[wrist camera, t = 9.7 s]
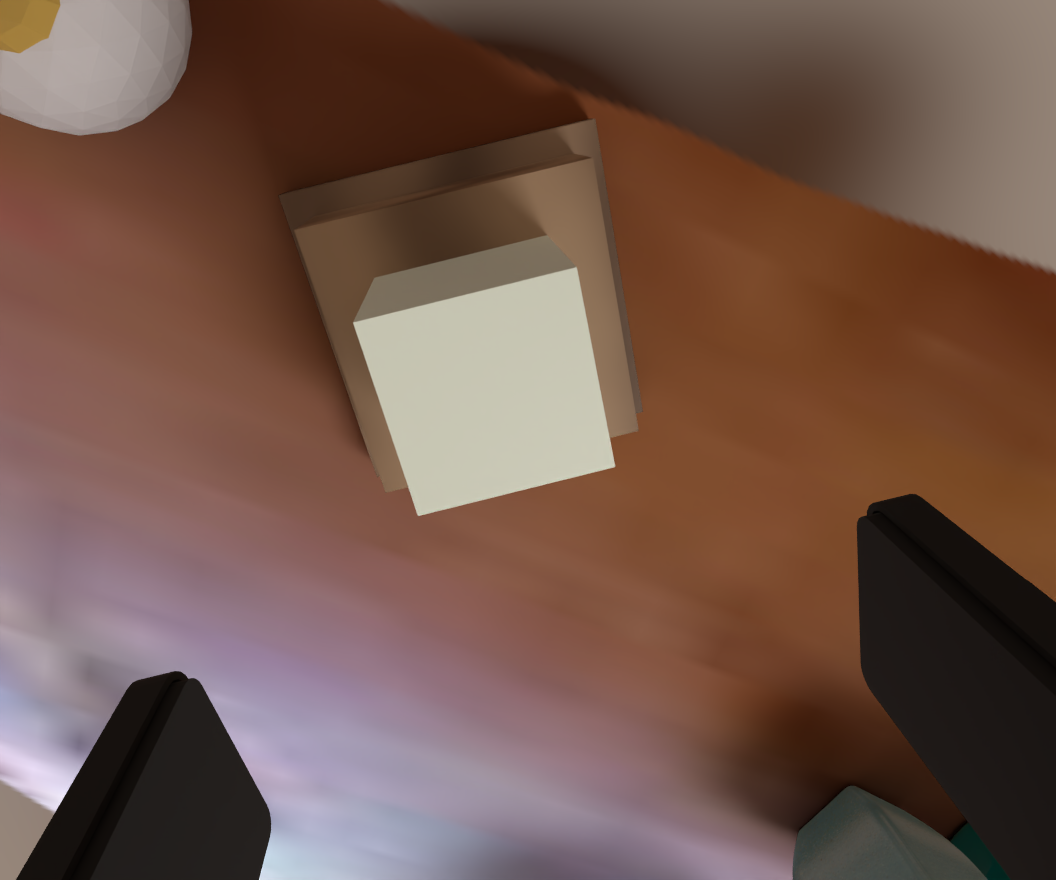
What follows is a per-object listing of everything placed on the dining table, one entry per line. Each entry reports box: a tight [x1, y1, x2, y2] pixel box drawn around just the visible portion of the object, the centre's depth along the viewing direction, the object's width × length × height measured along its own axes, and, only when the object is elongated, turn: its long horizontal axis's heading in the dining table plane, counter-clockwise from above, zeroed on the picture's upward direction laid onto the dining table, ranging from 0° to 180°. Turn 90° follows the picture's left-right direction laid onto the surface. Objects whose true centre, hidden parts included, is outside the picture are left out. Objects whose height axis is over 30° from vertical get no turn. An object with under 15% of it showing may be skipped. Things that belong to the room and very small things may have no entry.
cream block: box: [353, 235, 615, 516], centre depth 22 cm, size 6×6×6 cm
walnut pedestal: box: [278, 119, 643, 493], centre depth 27 cm, size 12×12×5 cm
